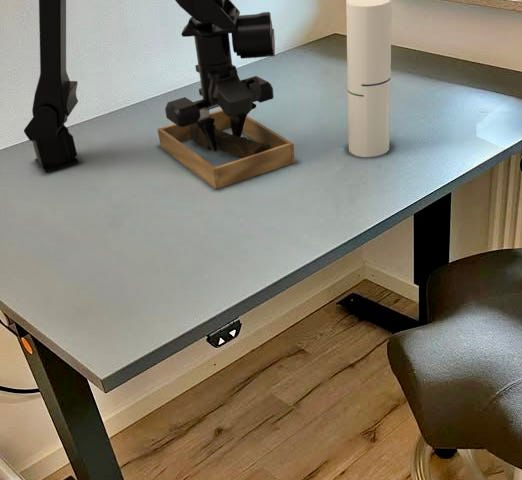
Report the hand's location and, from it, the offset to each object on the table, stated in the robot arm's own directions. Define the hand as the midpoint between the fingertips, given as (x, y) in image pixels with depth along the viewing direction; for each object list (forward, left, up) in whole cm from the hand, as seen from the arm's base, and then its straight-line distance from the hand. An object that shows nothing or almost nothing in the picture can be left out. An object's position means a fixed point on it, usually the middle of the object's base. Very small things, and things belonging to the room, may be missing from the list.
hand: (225, 146), depth 143 cm
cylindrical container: (+21, -15, -2) cm, 26 cm away
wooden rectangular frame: (0, 0, -1) cm, 1 cm away
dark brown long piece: (0, 0, -2) cm, 2 cm away
